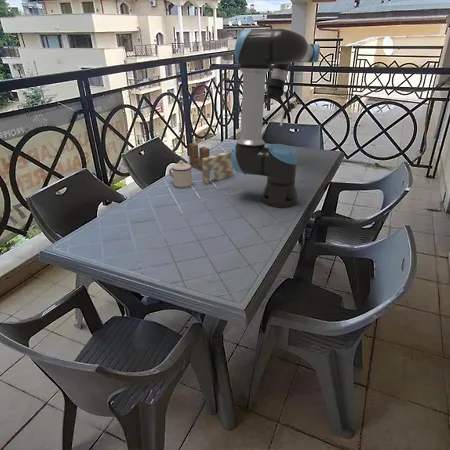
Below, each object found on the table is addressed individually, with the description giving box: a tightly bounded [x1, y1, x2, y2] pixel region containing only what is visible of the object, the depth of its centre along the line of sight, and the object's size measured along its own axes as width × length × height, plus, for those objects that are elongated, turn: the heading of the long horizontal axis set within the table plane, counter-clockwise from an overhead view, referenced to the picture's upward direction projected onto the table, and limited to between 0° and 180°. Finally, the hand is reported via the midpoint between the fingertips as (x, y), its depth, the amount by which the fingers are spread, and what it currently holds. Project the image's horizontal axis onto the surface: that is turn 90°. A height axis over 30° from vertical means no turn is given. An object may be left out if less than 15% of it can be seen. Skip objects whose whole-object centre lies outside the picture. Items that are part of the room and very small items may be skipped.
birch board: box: [202, 150, 234, 185], centre depth 169 cm, size 17×3×12 cm, turn 131°
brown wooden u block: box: [187, 142, 211, 172], centre depth 183 cm, size 14×3×12 cm, turn 41°
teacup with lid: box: [168, 160, 193, 188], centre depth 164 cm, size 12×9×12 cm
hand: (268, 123), depth 179 cm, fingers open, 13 cm apart
